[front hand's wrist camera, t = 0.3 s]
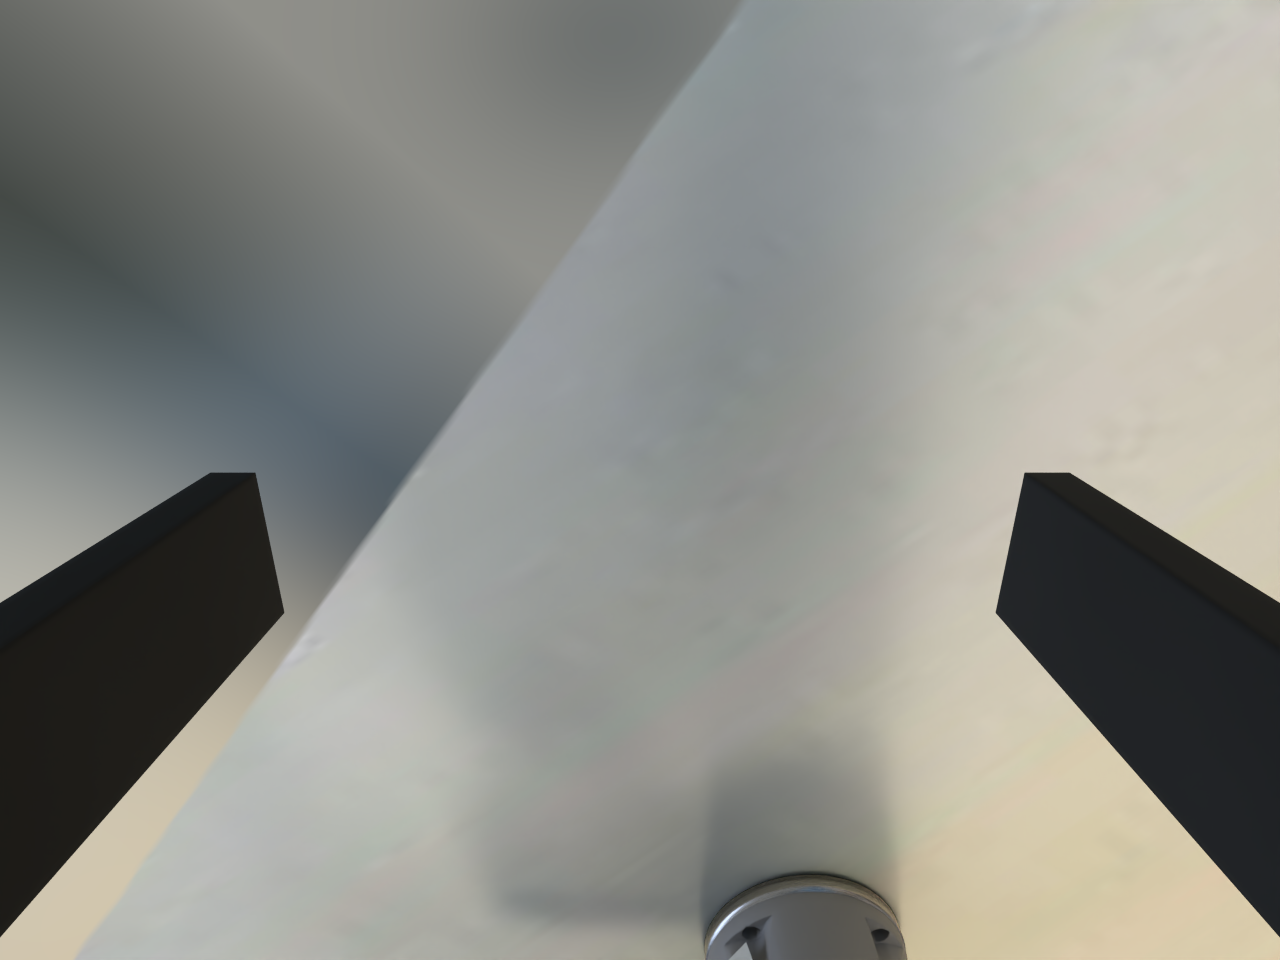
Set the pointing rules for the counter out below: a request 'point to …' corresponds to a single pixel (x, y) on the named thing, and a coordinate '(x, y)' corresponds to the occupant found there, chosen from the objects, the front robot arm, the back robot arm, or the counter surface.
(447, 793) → the counter surface
